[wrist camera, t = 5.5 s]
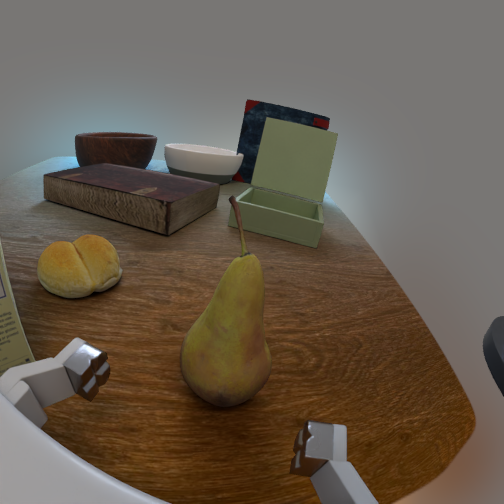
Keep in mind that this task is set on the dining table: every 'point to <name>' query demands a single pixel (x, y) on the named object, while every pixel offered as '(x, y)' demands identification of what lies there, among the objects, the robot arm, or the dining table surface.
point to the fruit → (230, 335)
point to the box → (10, 327)
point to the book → (255, 126)
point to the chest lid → (294, 159)
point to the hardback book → (133, 195)
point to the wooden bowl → (115, 149)
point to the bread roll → (79, 267)
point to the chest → (279, 216)
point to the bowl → (202, 162)
